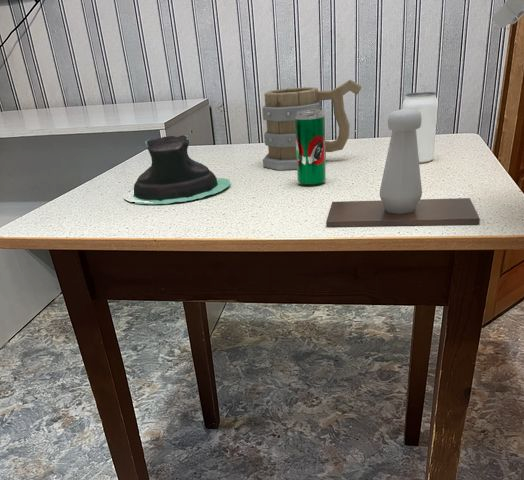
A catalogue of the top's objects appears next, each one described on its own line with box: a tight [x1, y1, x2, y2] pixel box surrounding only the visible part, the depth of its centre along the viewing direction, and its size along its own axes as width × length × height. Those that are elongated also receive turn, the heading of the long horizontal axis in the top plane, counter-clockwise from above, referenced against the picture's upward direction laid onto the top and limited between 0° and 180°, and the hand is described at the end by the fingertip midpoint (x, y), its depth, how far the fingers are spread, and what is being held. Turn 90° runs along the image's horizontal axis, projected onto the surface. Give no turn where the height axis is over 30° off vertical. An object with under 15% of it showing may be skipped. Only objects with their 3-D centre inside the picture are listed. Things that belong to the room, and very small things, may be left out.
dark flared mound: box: [132, 134, 231, 205], centre depth 98 cm, size 15×19×20 cm
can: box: [401, 91, 439, 164], centre depth 103 cm, size 6×6×12 cm
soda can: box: [295, 109, 327, 187], centre depth 94 cm, size 5×5×12 cm
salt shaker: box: [379, 108, 423, 214], centre depth 73 cm, size 6×6×13 cm
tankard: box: [262, 79, 363, 171], centre depth 109 cm, size 20×13×15 cm, turn 80°
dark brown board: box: [325, 197, 481, 228], centre depth 76 cm, size 20×10×1 cm, turn 79°
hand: (502, 22), depth 63 cm, fingers open, 8 cm apart
